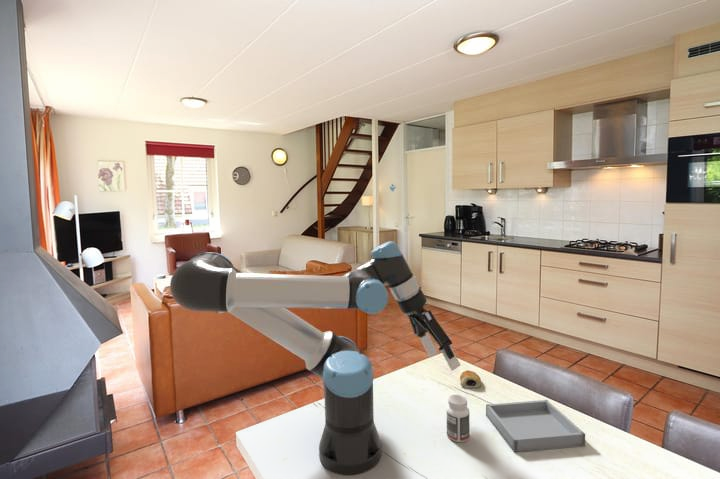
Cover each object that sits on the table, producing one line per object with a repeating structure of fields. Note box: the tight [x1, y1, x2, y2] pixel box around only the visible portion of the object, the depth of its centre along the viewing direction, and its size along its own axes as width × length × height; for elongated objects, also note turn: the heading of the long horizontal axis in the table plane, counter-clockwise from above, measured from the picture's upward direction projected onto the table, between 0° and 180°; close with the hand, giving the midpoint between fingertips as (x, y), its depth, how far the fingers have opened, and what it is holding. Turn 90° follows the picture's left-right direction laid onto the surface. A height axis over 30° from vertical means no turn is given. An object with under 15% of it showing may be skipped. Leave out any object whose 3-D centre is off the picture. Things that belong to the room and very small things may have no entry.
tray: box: [485, 399, 586, 454], centre depth 100 cm, size 18×16×3 cm
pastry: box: [459, 370, 483, 389], centre depth 127 cm, size 9×7×4 cm
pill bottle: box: [446, 394, 471, 443], centre depth 98 cm, size 6×6×10 cm
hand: (444, 360), depth 106 cm, fingers open, 13 cm apart
